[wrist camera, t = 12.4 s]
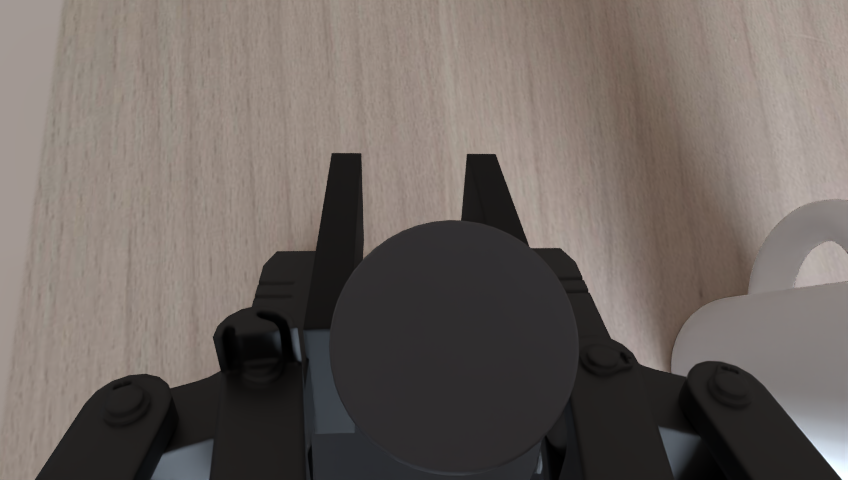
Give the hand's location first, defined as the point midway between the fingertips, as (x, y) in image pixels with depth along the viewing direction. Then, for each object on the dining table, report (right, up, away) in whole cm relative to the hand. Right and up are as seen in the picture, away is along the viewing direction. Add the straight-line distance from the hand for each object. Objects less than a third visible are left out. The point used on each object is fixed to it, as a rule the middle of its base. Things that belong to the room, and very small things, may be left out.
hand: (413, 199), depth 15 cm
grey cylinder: (0, -4, +3) cm, 5 cm away
